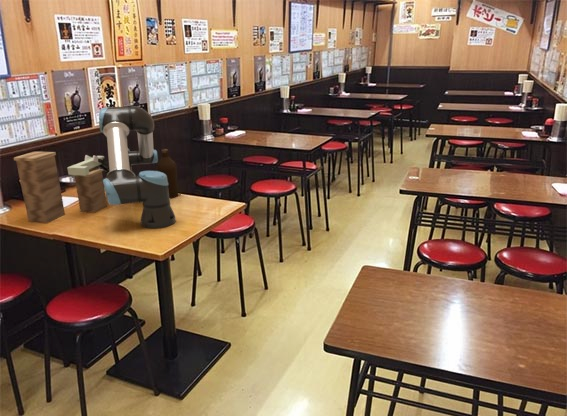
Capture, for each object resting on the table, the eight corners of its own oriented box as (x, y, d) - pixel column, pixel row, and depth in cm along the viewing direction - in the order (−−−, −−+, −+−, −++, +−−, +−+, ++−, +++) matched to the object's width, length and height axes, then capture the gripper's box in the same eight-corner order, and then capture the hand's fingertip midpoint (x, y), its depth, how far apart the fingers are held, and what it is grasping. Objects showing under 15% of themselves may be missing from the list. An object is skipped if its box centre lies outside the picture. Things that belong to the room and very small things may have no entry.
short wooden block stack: (108, 205, 230) (103, 168, 224) (95, 213, 220) (89, 174, 214) (92, 204, 232) (86, 168, 226) (78, 212, 222) (72, 173, 215)
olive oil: (176, 191, 251) (172, 146, 243) (181, 197, 242) (177, 150, 234) (157, 194, 247) (152, 148, 239) (161, 200, 238) (156, 152, 230)
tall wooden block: (66, 214, 219) (55, 152, 209) (48, 223, 207) (35, 158, 197) (46, 212, 221) (34, 151, 212) (26, 222, 209) (13, 157, 200)
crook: (98, 162, 231) (97, 155, 230) (114, 163, 229) (113, 156, 228) (68, 174, 208) (67, 167, 207) (85, 175, 207) (83, 168, 206)
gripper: (128, 178, 241) (103, 166, 218) (100, 177, 244) (73, 164, 221) (131, 164, 242) (106, 151, 219) (102, 163, 245) (75, 149, 223)
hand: (89, 157), depth 220 cm, fingers closed on crook, 3 cm apart
